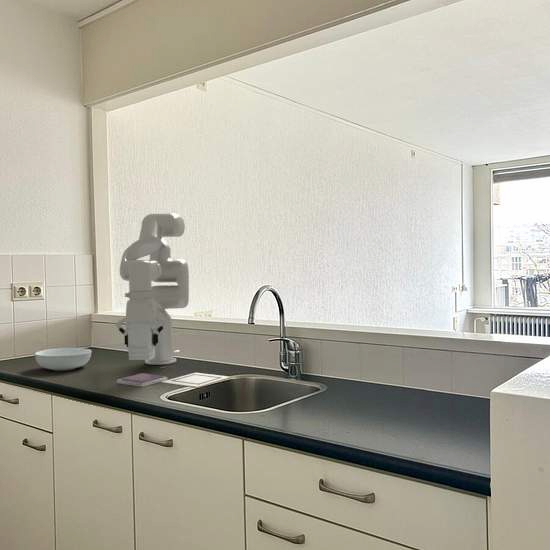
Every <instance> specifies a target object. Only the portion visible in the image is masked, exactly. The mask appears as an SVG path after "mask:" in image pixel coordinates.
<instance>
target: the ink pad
mask: <svg viewBox="0 0 550 550" xmlns="http://www.w3.org/2000/svg"><path fill="white" fill-rule="evenodd" d="M166 380H168V376H165V375H160V374H159V375H158V374H152V373H151V374H150V373H137V374H134V375H130V376H126V377H121V378H119V379H116V383H117V384H119V385H128V386H134V387H139V388H144V387H147V386H151V385H155V384H158V383H161V382H163V381H166Z"/></svg>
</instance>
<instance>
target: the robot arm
mask: <svg viewBox="0 0 550 550" xmlns="http://www.w3.org/2000/svg"><path fill="white" fill-rule="evenodd" d="M140 227H141V228H140V232H139V236H138V240H136V241H134V242H133V243H131V245H129V246H127V248H126V249H125V250H124V252H123V254H122V256H121V261H120V264H119V265H120V266H119V274H120V278H121V279H122V280H123V281H126V282H128V285H129V286H128V287H129V288H128V292H125V293H124V297H125V298H129V299H128V300H126V305H125V306H126V307H125V308H126V309H125V317H123V318H122V319H120V320H119V321H117V322H115V326H116V328H117V330H118V331H119V332H120V333H121V334H122V335H123V336H124V345H125V346H126V348H128V329H131V328H132V324H136V323H150V329H152V330H153V331H154V346H155V357H153V358H152V359H150V360H144V363H145V364H146V365H153V366H154V365H155V366H156V365H157V366H160V365H162V366H163V365H170V364H171V365H172V364H175V363H176V362H177V358H176V357H175V356H178V355H180V354H181V351H180V349H179V350H178V349H176V350H174V349H173V321H172V320H173V319H172V318H171V317H172V316H171V315H170V314H169V313H168V311H166V310H168V309H185V308H186V307H187V306H188V305H189V302H190V301H189V300H190V299H189V298H190V294H189V293H190V288H189V286H190V276H189V275H190V274H189V272H190V271H189V270H190V269H189V266H188V262H187V261H185V260H184V259H177V258H175V259H171V257H172V256H171V249H172V248H171V247H170V245H169V243H168V242H167V241H166V240H165V239H164V238H172V237H173V238H176V237H182V236H183V235H184V233H185V229H186V228H185V220H184V219H183V217H182V216H181V215H179V214H177V213H150V214H147V215H146V216H144V217H143V219H142V221H141V226H140ZM147 256H149V259H142V258H144V257H147ZM152 282H154V283H176V284H175V285H173V284H171V285H168V284H167V285H153V286H152ZM122 324H125V327H126V329H124V328H123V327H122Z"/></svg>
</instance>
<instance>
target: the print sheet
mask: <svg viewBox="0 0 550 550" xmlns="http://www.w3.org/2000/svg"><path fill="white" fill-rule="evenodd" d="M230 378H231V376H227V375H219V374H218V375H217V374H212V373H211V374H210V373H209V374H208V373H202V372H201V373H200V372H193V373H189V374H186V375H181V376H178V377H174V378H171V379H167V380H166V381H163V382H160V383H162V384H168V385H169V384H170V385H175V386H176V385H177V386H182V387H183V386H184V387H188V388H190V387H191V388H196V389H197V388H200V387H204V386H207V385H210V384H213V383H218V382H220V381H224V380H226V379H227V380H228V379H230Z"/></svg>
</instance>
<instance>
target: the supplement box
mask: <svg viewBox="0 0 550 550" xmlns="http://www.w3.org/2000/svg"><path fill="white" fill-rule="evenodd" d="M127 348H128V349H127V351H128V360H129V361H145V360H150V359H152V358H153V357H155V346H154V331H153V330H152V329H150V323H136V324H132V328H131V329H128V347H127Z"/></svg>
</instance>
